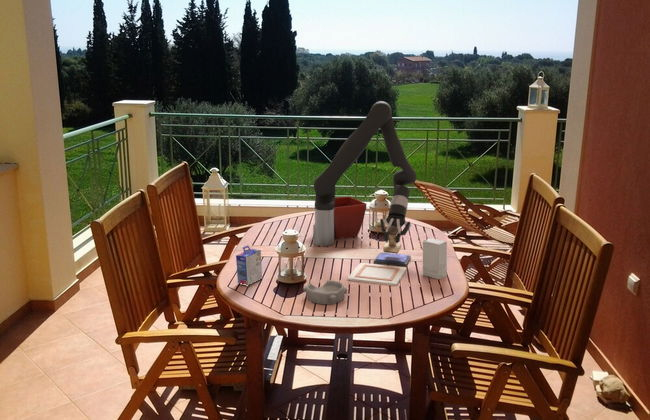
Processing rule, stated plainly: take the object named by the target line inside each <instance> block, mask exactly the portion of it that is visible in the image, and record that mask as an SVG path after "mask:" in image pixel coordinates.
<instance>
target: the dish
mask: <svg viewBox="0 0 650 420" xmlns="http://www.w3.org/2000/svg"><path fill="white" fill-rule="evenodd" d="M303 292H304V293H305V294H306V298H307V300H308V301H310V302H312V303H314V304H319V305H321V304H322V305H333V304H338V303H340V302H342V301H344V298H345V295H347V293H348V289H347V287H345V286H344V284H343V283H342V282H339V281H336V280H326V282H325V283H324V284H323V285H322V286H319V287H316V286H315V285H313V283H308V284H307V285H304V286H303Z"/></svg>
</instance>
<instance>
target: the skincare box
mask: <svg viewBox="0 0 650 420" xmlns="http://www.w3.org/2000/svg"><path fill="white" fill-rule="evenodd" d="M447 243H448V241H447V240H442V239H437V238H433V237H430V238H427V239H425V240H423V241H422V276H425V277H429V278H433V279H435V280H436V279H437V280H440V279H442V278H446V277H447V276H448V275H447V273H448V272H447V271H448V269H447V268H448V267H447V265H448V263H447V262H448V261H447V259H448V258H447V256H448V255H447V254H448V252H447V251H448V249H447V248H448V247H447V246H448V244H447Z"/></svg>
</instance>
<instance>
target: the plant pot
mask: <svg viewBox="0 0 650 420" xmlns="http://www.w3.org/2000/svg"><path fill="white" fill-rule="evenodd" d="M366 211H367V203H365V202H363V201H362V200H359V199H357V198H354V197H352V196H342V197H341V196H339V197H335V204H334V240H337V239H345V238H352V237H358V236H359V234H360V230H361V228H362V226H363V221H364V219H365V215H366Z"/></svg>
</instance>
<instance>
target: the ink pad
mask: <svg viewBox="0 0 650 420" xmlns="http://www.w3.org/2000/svg"><path fill="white" fill-rule="evenodd" d="M411 257H412V256H411V255H408V254H399V253H398V254H396V253H387V252H379V253H378V254H377V255H376V257H375V258H374V259H373V264H377V265H387V266H396V267H406V268H407V266H408V264H409V262H410V261H411Z"/></svg>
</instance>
